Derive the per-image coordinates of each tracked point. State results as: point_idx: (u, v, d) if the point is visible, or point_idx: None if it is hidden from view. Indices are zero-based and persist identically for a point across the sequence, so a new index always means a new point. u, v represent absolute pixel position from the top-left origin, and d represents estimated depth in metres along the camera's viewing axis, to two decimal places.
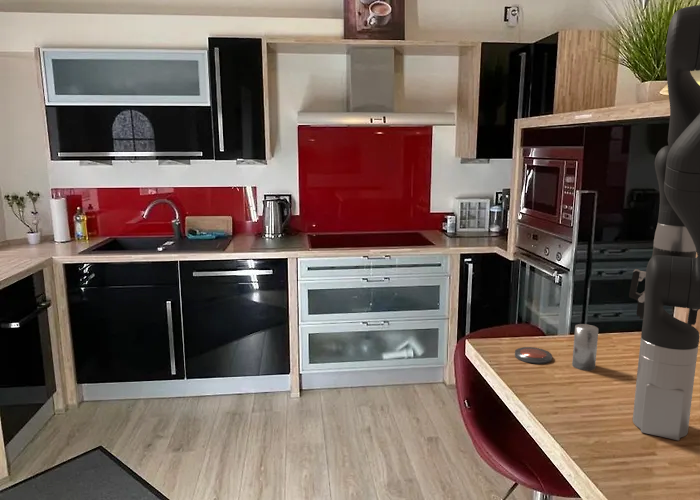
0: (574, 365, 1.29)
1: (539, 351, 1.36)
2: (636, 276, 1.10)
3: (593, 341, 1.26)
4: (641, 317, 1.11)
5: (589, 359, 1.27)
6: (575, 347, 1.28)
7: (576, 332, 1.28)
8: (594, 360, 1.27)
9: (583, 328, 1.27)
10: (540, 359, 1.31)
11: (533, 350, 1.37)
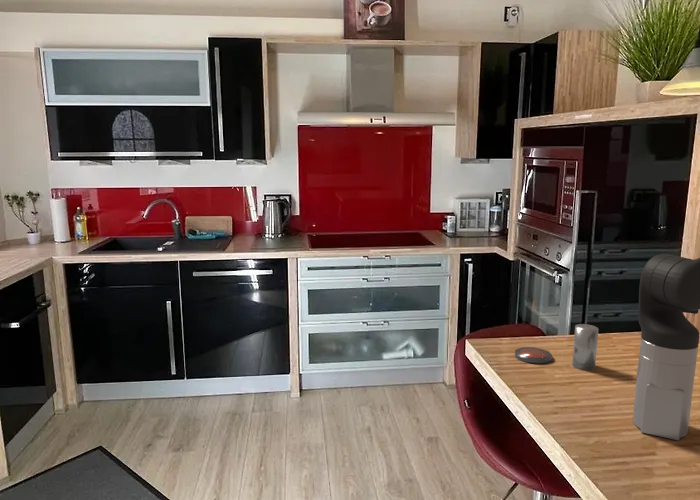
0: (574, 365, 1.29)
1: (539, 351, 1.36)
2: None
3: (593, 341, 1.26)
4: None
5: (589, 359, 1.27)
6: (575, 347, 1.28)
7: (576, 332, 1.28)
8: (594, 360, 1.27)
9: (583, 328, 1.27)
10: (540, 359, 1.31)
11: (533, 350, 1.37)
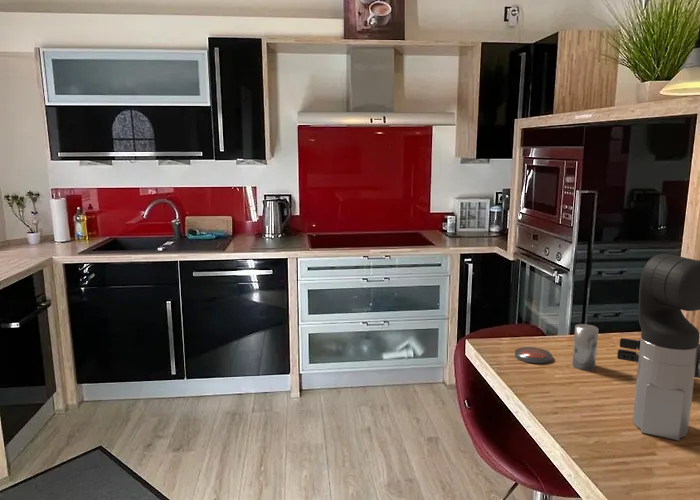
0: (574, 365, 1.29)
1: (539, 351, 1.36)
2: None
3: (593, 341, 1.26)
4: (622, 338, 1.28)
5: (589, 359, 1.27)
6: (575, 347, 1.28)
7: (576, 332, 1.28)
8: (594, 360, 1.27)
9: (583, 328, 1.27)
10: (540, 359, 1.31)
11: (533, 350, 1.37)
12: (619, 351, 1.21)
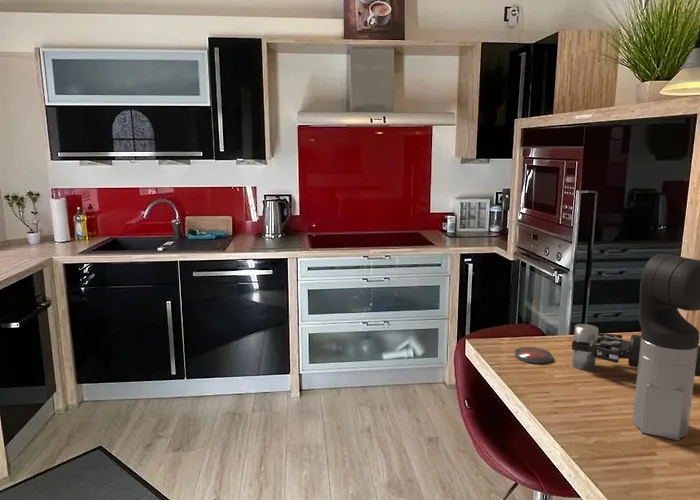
0: (574, 365, 1.29)
1: (539, 351, 1.36)
2: (617, 335, 1.30)
3: (593, 341, 1.26)
4: None
5: (589, 359, 1.27)
6: None
7: (576, 332, 1.28)
8: (594, 360, 1.27)
9: (583, 328, 1.27)
10: (540, 359, 1.31)
11: (533, 350, 1.37)
12: (573, 342, 1.27)
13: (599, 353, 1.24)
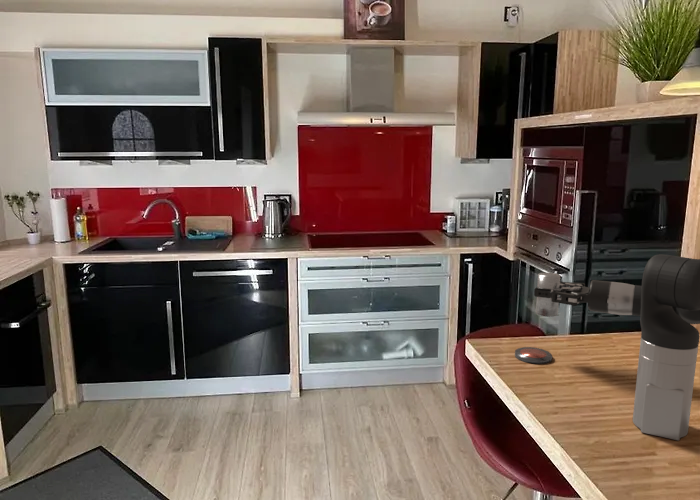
0: (537, 312, 1.32)
1: (539, 351, 1.36)
2: (580, 283, 1.33)
3: (554, 287, 1.29)
4: None
5: (551, 305, 1.30)
6: None
7: (538, 279, 1.31)
8: (556, 306, 1.30)
9: (545, 275, 1.30)
10: (540, 359, 1.31)
11: (533, 350, 1.37)
12: (535, 289, 1.30)
13: (560, 298, 1.27)
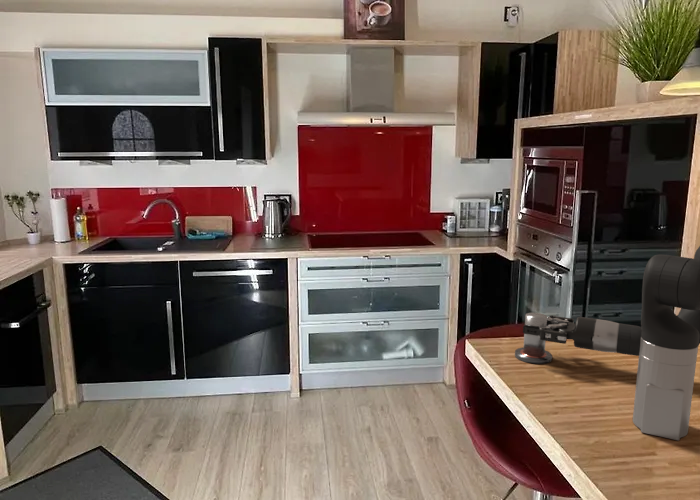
0: (524, 352, 1.35)
1: None
2: (569, 318, 1.35)
3: None
4: None
5: (538, 346, 1.32)
6: (525, 334, 1.34)
7: (526, 320, 1.33)
8: (543, 347, 1.33)
9: (532, 316, 1.33)
10: (540, 359, 1.31)
11: None
12: (524, 326, 1.31)
13: (548, 336, 1.29)
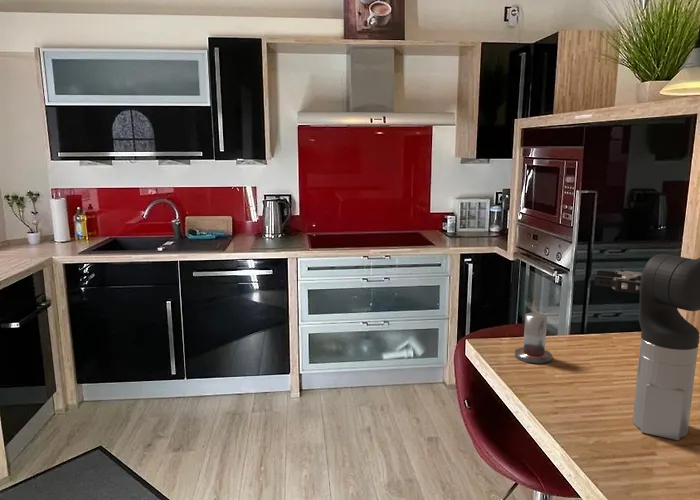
0: (524, 352, 1.35)
1: None
2: None
3: (541, 328, 1.31)
4: (600, 270, 1.28)
5: (538, 346, 1.32)
6: (525, 334, 1.34)
7: (526, 320, 1.33)
8: (543, 347, 1.33)
9: (532, 316, 1.33)
10: (540, 359, 1.31)
11: None
12: (596, 277, 1.21)
13: (623, 287, 1.18)
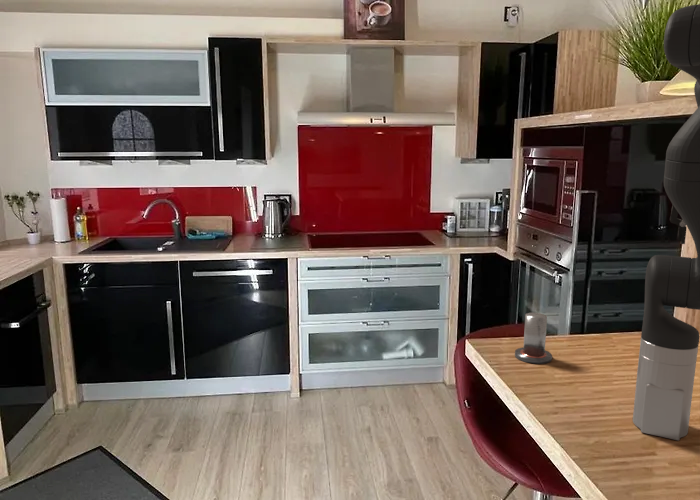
0: (524, 352, 1.35)
1: None
2: None
3: (541, 328, 1.31)
4: (683, 241, 1.14)
5: (538, 346, 1.32)
6: (525, 334, 1.34)
7: (526, 320, 1.33)
8: (543, 347, 1.33)
9: (532, 316, 1.33)
10: (540, 359, 1.31)
11: None
12: None
13: None
